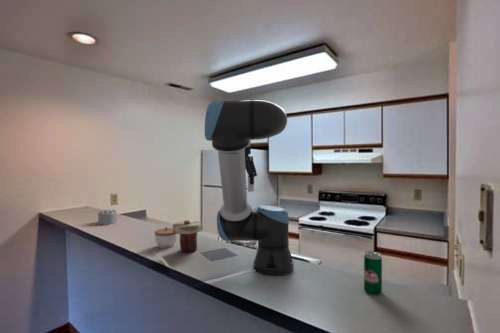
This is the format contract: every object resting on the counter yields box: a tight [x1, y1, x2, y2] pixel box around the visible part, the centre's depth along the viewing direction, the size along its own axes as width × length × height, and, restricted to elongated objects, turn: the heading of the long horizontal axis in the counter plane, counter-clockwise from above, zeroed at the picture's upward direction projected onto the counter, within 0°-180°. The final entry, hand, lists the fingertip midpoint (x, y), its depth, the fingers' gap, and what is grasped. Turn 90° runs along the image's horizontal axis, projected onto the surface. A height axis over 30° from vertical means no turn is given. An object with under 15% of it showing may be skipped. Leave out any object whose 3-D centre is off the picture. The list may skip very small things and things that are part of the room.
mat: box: [200, 247, 238, 262], centre depth 115 cm, size 12×12×1 cm
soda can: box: [363, 250, 383, 296], centre depth 83 cm, size 5×5×12 cm
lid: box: [172, 220, 202, 235], centre depth 119 cm, size 12×12×4 cm
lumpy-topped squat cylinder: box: [97, 209, 118, 226], centre depth 180 cm, size 10×13×9 cm
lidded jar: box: [154, 226, 179, 249], centre depth 129 cm, size 11×11×9 cm
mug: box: [179, 232, 199, 254], centre depth 119 cm, size 12×9×10 cm
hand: (243, 190), depth 130 cm, fingers open, 13 cm apart
